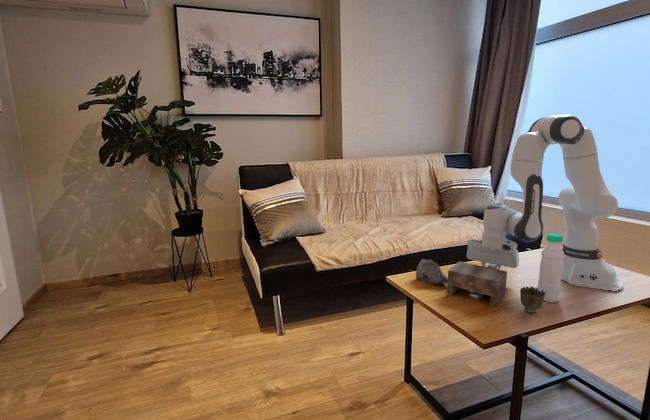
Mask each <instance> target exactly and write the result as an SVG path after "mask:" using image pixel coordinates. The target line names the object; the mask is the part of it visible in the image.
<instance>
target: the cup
mask: <svg viewBox="0 0 650 420" xmlns="http://www.w3.org/2000/svg"><path fill="white" fill-rule="evenodd" d="M519 290H520V291H519V292H520V293H519V294H520V296H519V297H520V303H521V306H522V307H524V308H523V309H524V311H525V312H526V313H527V314H531V315H532V314H533V315H535V314H536V313H537V310H539V309H541V308H542V306H543V304H544V301H543V300H544V296H545V292H543V290H542V291H541V292H540V291H538V287H536V288H535V287H534V286H530V287H529V286H522V287H521V288H520V289H519Z"/></svg>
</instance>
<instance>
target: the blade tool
mask: <svg viewBox="0 0 650 420" xmlns="http://www.w3.org/2000/svg"><path fill="white" fill-rule="evenodd" d="M486 267H488V268H493V269H497V268H498V267H497V265H495V264H490V263H488V265H487V266H486Z"/></svg>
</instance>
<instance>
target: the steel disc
mask: <svg viewBox="0 0 650 420" xmlns="http://www.w3.org/2000/svg"><path fill="white" fill-rule="evenodd" d="M483 295H484V294H482V293H478V292H474V291H470V290H468V297H470V298H471V299H482V298H483Z"/></svg>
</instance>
